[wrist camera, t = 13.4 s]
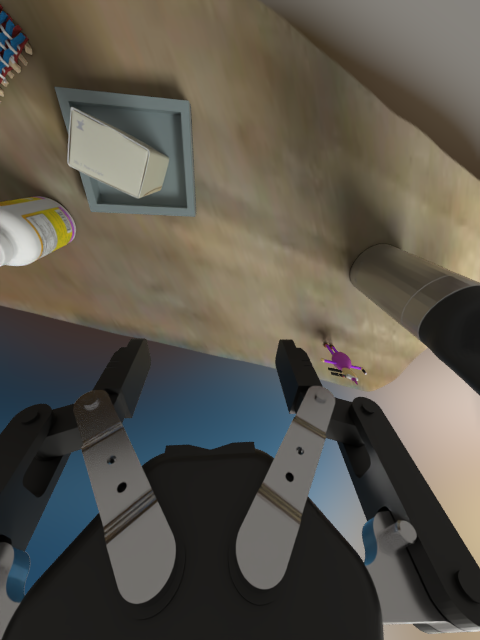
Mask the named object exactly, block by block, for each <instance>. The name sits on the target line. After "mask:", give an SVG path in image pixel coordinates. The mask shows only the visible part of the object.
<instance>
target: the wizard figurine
mask: <svg viewBox="0 0 480 640" xmlns="http://www.w3.org/2000/svg"><path fill="white" fill-rule="evenodd" d="M324 347H327V348H328V350H329V351H330V352H331V354H332V361H330V360H325V359H323V358H321V361H322V362H327V363H332V364H334V366H335V367H336V368H338V369H334V368H329V367H328V370H330V371H333V370H334V371H336V372H337V371H338V372H340V373H342V372H343V376H342V374H339V375H338V373H334V372H333V373H332V372H331V375H336V376H341V377H345V378H346V377H347V378H349V379H351V380H352V381H354V382H355V383H356V384H357V381H358V378H357V376H356V375H355V374H354V373H353V371H352V370H350V368H355V369H360V370H362V371H363V372H364V374H365V375H366V374H367V373H366V372H365V370H364V369H363V368H362V367H357V366H352V365H351V360H350V359H349V357H348V356H347V355H346V354H344V353H342V352H338V351H337V350H336V349H335V347H334V346H331V347H329V346H328V344H325V345H324ZM332 349H333V350H334V351H335V353H334V352H333V351H332ZM341 370H342V371H341ZM357 385H358V384H357Z"/></svg>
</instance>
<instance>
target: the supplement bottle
mask: <svg viewBox="0 0 480 640" xmlns="http://www.w3.org/2000/svg"><path fill="white" fill-rule="evenodd" d="M75 234H76V227H75V223H74V220H73V218H72V216H71V215H70V214H69V212H68V211H67V210H66V209H65V208H64V207H63V206H62V205H60V204H59V203H57V202H56V201H54V200H52V199H49V198H46V197H40V196H36V197H28V198H22V199H16V200H9V201H3V202H0V266H3V265H10V266H23V265H27V264H30V263H32V262H34V261H36V260H38V259H40V258H41V257H43V256H45V255H47V254H49V253H51V252H53V251H55V250H57V249H59V248H61V247H63V246H64V245H66V244H68V243H70V242H71V241H72V240H73V239H74V237H75Z"/></svg>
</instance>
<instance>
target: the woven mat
mask: <svg viewBox="0 0 480 640" xmlns="http://www.w3.org/2000/svg"><path fill="white" fill-rule="evenodd" d="M2 9H3V7H2V6H1V5H0V83H2V84H3V85H4V86H5V87H7V85H8V84H9V82H8V81H7V80H6V78H5V76H6V75H7V74H8V75H9V77H10V78H13V76H14V74H13V73H12V71H11V70H12V69H14V70H15V71H16V72H17V73H19V72H20V71H21V67H20V66H19V65H18V64H17V63H18V58H19V59H20V60H21V62H22V63H23V64H24V65H25V66H26V65H27V63H28V62H27V61H26V59H25V58H24V57H23V55H22V54H21V52H22V50H23V48H24V50H25V52H26V53H28V54H31V55H32V49H31V46H30V45H29V44H28V43H27V41H28V40H29V39H28V38H27V36H26V35H25V34H22V33H20V31H21V30H22V29H21V28H20V26H19V25H17V26H15V25H14V24H13V23H12V20H13V19H12V18H11V17H10V16H9V14H6V13H5V12H4V11H2ZM2 58H3V59H2ZM0 96H3V97H4V92H3V90H2V88H1V87H0ZM0 103H1V100H0Z"/></svg>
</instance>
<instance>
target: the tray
mask: <svg viewBox="0 0 480 640" xmlns="http://www.w3.org/2000/svg"><path fill="white" fill-rule="evenodd" d="M55 91H56V94H57V98H58V101H59V104H60V108H61V111H62V115H63V118H64V121H65V125H66V128H67V131H68V135H69V124H70V113H71V107H74V108H76V109H78V110H80V111H82V112H84V113H87V114H89V115H91V116H93V117H95V118H97V119H99V120H101V121H103V122H105V123H107V124H109V125H111V126H113V127H115V128H118V129H120V130H122V131H124V132H126V133H128V134H129V135H131V136H133V137H135V138H137V139H138V140H140V141H142V142H144V143H145V144H147V145H149V146H151V147H152V148H154V149H156V150H157V151H159V152H161V153H162V154H164V155H166V156H167V157H169V163H168V167H167V171H166V175H165V178H164V182H163V185H162V188H161V190H160V191H158V192H155V193H152V194H149V195H146V196H144V197H141V198H135V197H133V196H131V195H128V194H126V193H124V192H122V191H119V190H117V189H115V188H113V187H111V186H109V185H107V184H104V183H102V182H100V181H98V180H96V179H94V178H92V177H90V176H88V175H86V174H84V173H82V172H80V171H79V172H80V176H81V179H82V182H83V186H84V189H85V193H86V196H87V199H88V203H89V206H90V210H91V212H108V213H129V214H151V215H172V216H194V217H195V215H196V199H195V179H194V159H193V139H192V119H191V105H190V102H189V101H185V100H176V99H166V98H157V97H147V96H138V95H128V94H119V93H110V92H100V91H91V90H81V89H72V88H62V87H55Z"/></svg>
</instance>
